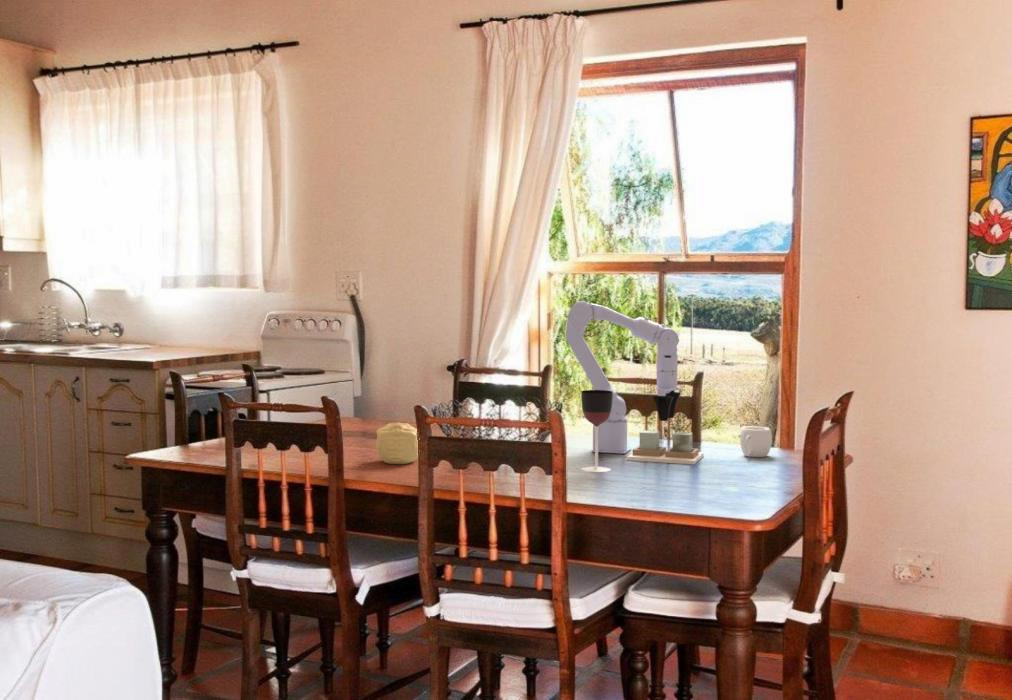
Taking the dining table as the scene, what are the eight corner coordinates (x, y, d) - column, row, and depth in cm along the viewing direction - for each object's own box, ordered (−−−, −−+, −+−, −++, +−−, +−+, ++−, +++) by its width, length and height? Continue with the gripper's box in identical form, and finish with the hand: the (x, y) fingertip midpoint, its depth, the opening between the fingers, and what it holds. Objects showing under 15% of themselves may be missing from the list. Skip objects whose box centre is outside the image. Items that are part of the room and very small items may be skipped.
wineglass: (585, 472, 262) (585, 393, 261) (577, 466, 271) (577, 390, 270) (615, 472, 264) (616, 393, 262) (607, 465, 272) (607, 389, 271)
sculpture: (373, 466, 271) (373, 425, 271) (379, 458, 283) (379, 419, 283) (417, 466, 271) (417, 425, 270) (422, 458, 283) (421, 419, 282)
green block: (672, 456, 281) (672, 434, 281) (675, 453, 285) (676, 432, 285) (689, 457, 279) (689, 435, 279) (692, 454, 284) (692, 432, 283)
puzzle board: (627, 460, 281) (627, 434, 280) (639, 452, 294) (639, 427, 293) (693, 464, 274) (694, 438, 274) (703, 456, 287) (703, 431, 287)
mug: (746, 452, 294) (747, 425, 293) (775, 455, 289) (776, 427, 289) (730, 458, 284) (730, 430, 283) (760, 461, 279) (760, 432, 279)
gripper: (676, 373, 284) (675, 423, 285) (686, 369, 298) (685, 416, 299) (650, 372, 287) (650, 421, 288) (661, 368, 300) (661, 415, 301)
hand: (666, 419), depth 293 cm, fingers open, 7 cm apart
